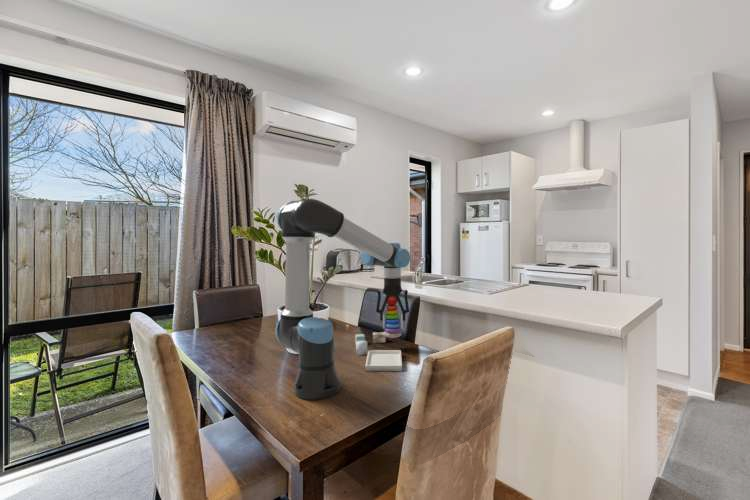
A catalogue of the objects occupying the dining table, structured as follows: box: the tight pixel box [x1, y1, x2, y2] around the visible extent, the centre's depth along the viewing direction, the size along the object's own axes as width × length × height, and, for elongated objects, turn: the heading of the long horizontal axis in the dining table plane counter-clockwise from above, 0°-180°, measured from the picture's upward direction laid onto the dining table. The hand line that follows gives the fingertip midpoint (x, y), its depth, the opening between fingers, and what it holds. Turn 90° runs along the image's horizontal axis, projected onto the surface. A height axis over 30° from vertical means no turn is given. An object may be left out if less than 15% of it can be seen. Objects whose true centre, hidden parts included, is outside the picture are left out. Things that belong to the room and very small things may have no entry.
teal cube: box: [354, 333, 366, 344], centre depth 169 cm, size 4×4×4 cm
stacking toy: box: [383, 296, 402, 339], centre depth 159 cm, size 8×8×19 cm
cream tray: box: [364, 349, 403, 372], centre depth 144 cm, size 14×18×2 cm
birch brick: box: [372, 331, 387, 344], centre depth 172 cm, size 6×4×4 cm, turn 90°
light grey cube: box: [355, 340, 369, 356], centre depth 155 cm, size 5×5×5 cm
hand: (392, 327), depth 160 cm, fingers closed on stacking toy, 7 cm apart
